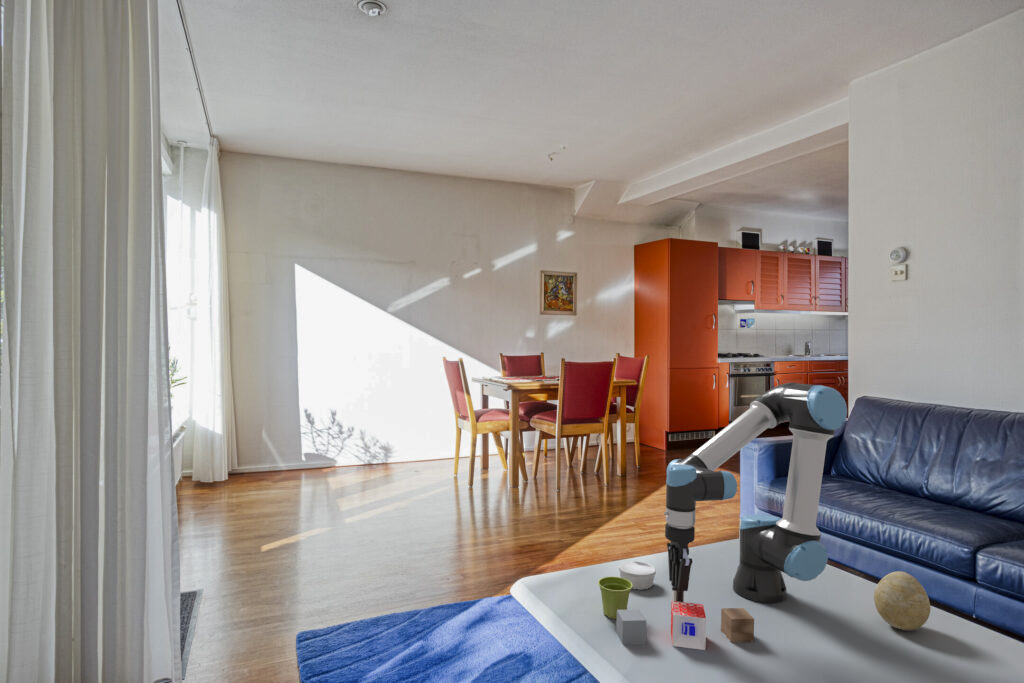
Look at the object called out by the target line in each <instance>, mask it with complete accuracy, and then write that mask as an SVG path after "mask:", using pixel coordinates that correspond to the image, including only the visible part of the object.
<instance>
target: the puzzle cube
mask: <svg viewBox="0 0 1024 683" xmlns="http://www.w3.org/2000/svg"><path fill="white" fill-rule="evenodd" d="M670 605H671V606H670V607H671V608H670V609H671V611H670V635H671V646H672V647H677V648H678V647H679V648H685V649H686V648H687V649H695V650H702V651H706V646H707V645H706V643H707V642H706V639H707V637H706V636H707V632H706V631H707V617H706V612H705V606H704V604H701V603H693V602H677V601H672V600H671V604H670Z"/></svg>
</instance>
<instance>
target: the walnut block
mask: <svg viewBox="0 0 1024 683" xmlns="http://www.w3.org/2000/svg"><path fill="white" fill-rule="evenodd" d="M720 609H721V612H720V613H721V614H720V617H721V618H720V631H721V633H722V632H723V633H724V634H725V635H726V636H725V635H724V634H723V633H722V634H723V635H724V636H725V638H727V640H728V639H729V640H730V641H729V640H728V641H729V642H730V643H752V642H751V641H754V640H755V618H754V616H752V615H751V614H750V613H749V612H748V611H747V610H746V609H745V608H743V607H733V608H732V607H731V608H729V607H728V608H727V607H725V608H720Z"/></svg>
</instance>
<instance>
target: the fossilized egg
mask: <svg viewBox="0 0 1024 683" xmlns="http://www.w3.org/2000/svg"><path fill="white" fill-rule="evenodd" d="M873 601H874V606H875V608H876V611H877V613H878V614H879V615H880V617H881V619H882V620H884V621H885V622H886V623H887V624H889V625H890V626H891V627H893V628H895V629H897V628H898V629H897V630H900V629H902V630H901V631H914V630H917V629H919V628H921V627H922V626H924V625H925V624H927V623H926V622H928V619H929V617H930V614H931V603H930V599H929V595H928V593H927V592H926V589H925V588H924V587H923V585H922V584H921V583H920V582H919V580H918V579H917V578H916V577H914V576H912V575H911V574H909V572H908V573H907V572H905V571H901V570H900V571H899V570H898V571H893V572H889V573H888V574H886V575H885V576H884V577H882V578H881V579H880V581H879V582H878V583H877V585H876V587H875V590H874V594H873Z"/></svg>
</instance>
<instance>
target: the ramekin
mask: <svg viewBox="0 0 1024 683" xmlns="http://www.w3.org/2000/svg"><path fill="white" fill-rule="evenodd" d="M618 571H619V577H621V578H624V579H627V580H629V581H630V582H631V583H632V584H633V587H632V589H631V590H635V589H638V590H637V591H644V590H643V589H646V590H648V588H649V589H650V588H651V587H652V586H653V584H654V580H655V575H656V573H657V572H656V568H655V567H654V566H653V565H652V564H649V563H646V562H641V561H631V560H629V561H624V562H621V563H620V564H619V565H618Z"/></svg>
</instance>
